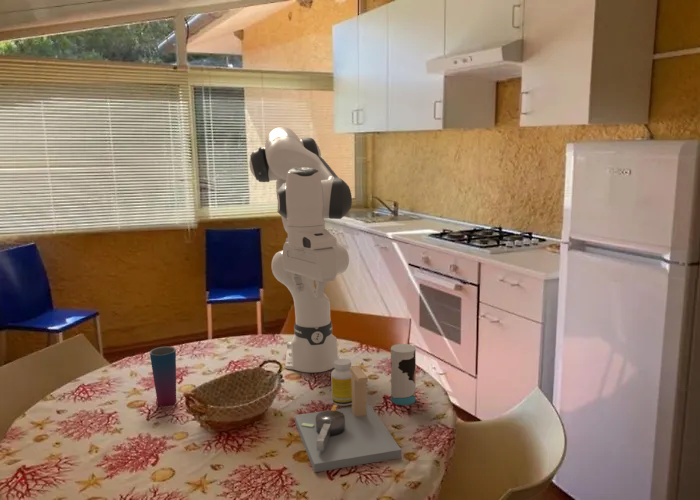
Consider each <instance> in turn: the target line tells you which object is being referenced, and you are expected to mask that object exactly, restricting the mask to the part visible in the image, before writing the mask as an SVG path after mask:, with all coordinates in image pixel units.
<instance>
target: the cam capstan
mask: <svg viewBox="0 0 700 500" xmlns="http://www.w3.org/2000/svg"><path fill="white" fill-rule="evenodd" d="M338 407H339V405H336V404H333V405H332V408H331V409H328V410H329V411H328V410H322V411H323V412H321V411H319V412H320V413H319V414H317V415H316V432H317V433H318V434H319V436H318V438H317V440H316V445H317V451H324V449H325V447H326V444H327V442H328V439H329V437H330V436H337V435H340V434H342V433H343V432H344V431H345V416H344V414H343V413H341V412H339V411H336V409H338Z"/></svg>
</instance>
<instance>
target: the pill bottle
mask: <svg viewBox="0 0 700 500" xmlns="http://www.w3.org/2000/svg"><path fill="white" fill-rule="evenodd" d="M350 367H352V361H351V359H348V358H343V359H337V360H335V361H334V368H333V370H331V373H330V379H331V401H332V403H333V405H337V406H338V407H339V406H340V407H342V406H343V407H347V406H350V405H351V406H352V388H351V375H352V374H351V372H350Z"/></svg>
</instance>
